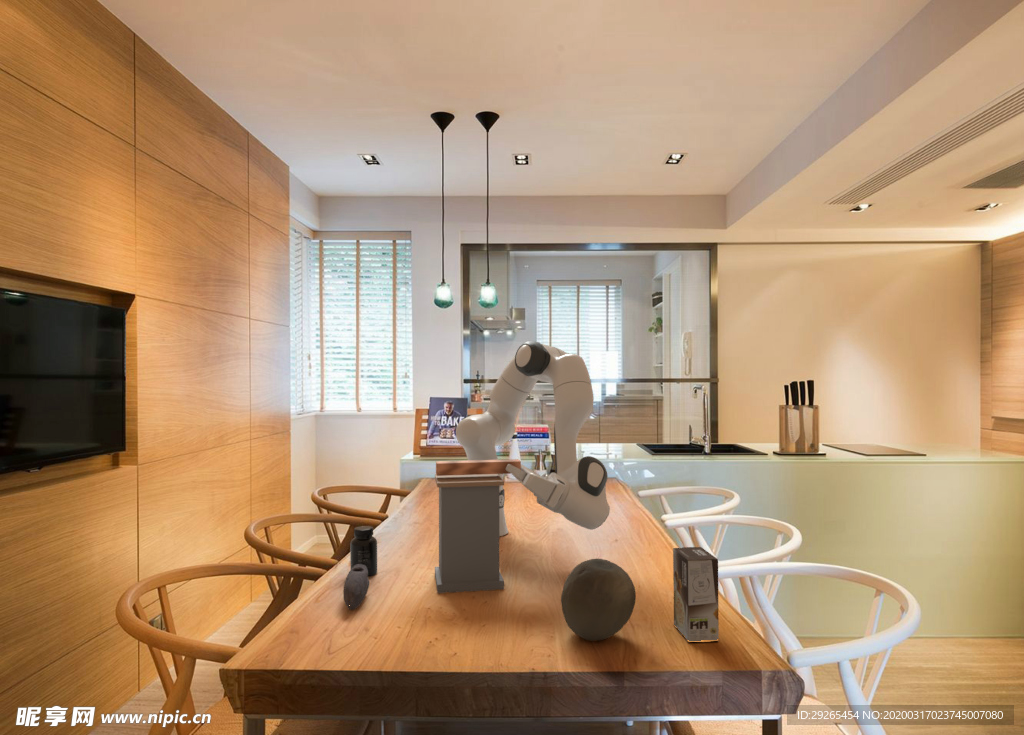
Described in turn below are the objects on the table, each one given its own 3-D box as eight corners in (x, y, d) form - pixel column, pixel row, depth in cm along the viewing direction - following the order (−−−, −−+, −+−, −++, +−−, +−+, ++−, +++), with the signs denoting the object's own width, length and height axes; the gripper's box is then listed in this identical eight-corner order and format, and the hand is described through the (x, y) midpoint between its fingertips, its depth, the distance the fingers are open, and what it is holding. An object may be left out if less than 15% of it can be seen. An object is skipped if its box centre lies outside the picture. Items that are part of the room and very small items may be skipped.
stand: (437, 593, 148) (437, 483, 148) (434, 574, 162) (434, 474, 162) (504, 589, 151) (504, 481, 151) (495, 571, 164) (495, 472, 165)
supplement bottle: (382, 571, 164) (382, 525, 165) (368, 579, 158) (368, 532, 158) (359, 568, 167) (359, 523, 167) (344, 576, 160) (345, 529, 160)
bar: (436, 475, 153) (436, 463, 153) (435, 473, 157) (435, 461, 157) (520, 473, 157) (520, 461, 157) (517, 470, 161) (517, 459, 161)
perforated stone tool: (361, 615, 135) (361, 583, 135) (336, 616, 134) (336, 583, 134) (372, 591, 150) (372, 562, 150) (349, 591, 149) (349, 562, 149)
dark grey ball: (588, 659, 113) (588, 576, 114) (548, 631, 126) (548, 556, 126) (649, 644, 120) (649, 565, 120) (605, 618, 132) (605, 547, 133)
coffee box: (720, 642, 120) (720, 559, 121) (688, 643, 120) (687, 560, 120) (702, 623, 130) (701, 546, 130) (671, 624, 129) (671, 547, 129)
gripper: (547, 473, 171) (504, 449, 169) (566, 486, 150) (517, 459, 148) (536, 493, 170) (493, 469, 168) (554, 509, 150) (504, 482, 148)
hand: (504, 464), depth 158 cm, fingers closed on bar, 4 cm apart
